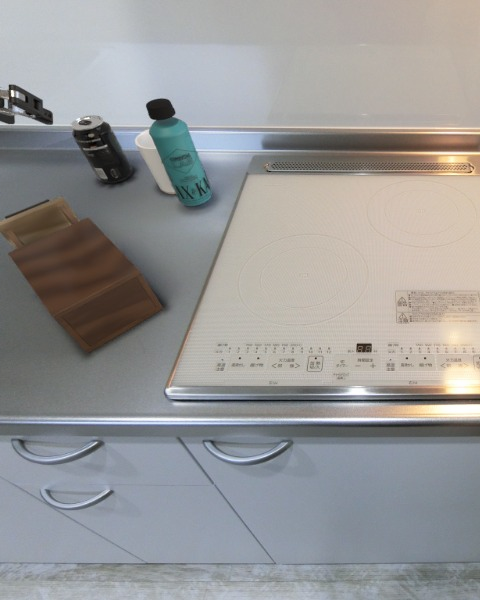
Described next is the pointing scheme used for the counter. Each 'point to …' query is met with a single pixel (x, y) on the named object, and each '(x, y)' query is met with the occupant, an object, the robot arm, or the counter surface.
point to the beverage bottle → (178, 153)
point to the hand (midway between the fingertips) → (31, 118)
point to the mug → (154, 161)
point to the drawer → (37, 222)
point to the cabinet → (86, 283)
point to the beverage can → (101, 148)
